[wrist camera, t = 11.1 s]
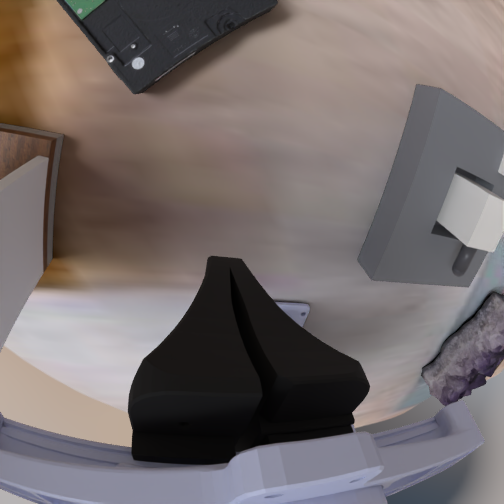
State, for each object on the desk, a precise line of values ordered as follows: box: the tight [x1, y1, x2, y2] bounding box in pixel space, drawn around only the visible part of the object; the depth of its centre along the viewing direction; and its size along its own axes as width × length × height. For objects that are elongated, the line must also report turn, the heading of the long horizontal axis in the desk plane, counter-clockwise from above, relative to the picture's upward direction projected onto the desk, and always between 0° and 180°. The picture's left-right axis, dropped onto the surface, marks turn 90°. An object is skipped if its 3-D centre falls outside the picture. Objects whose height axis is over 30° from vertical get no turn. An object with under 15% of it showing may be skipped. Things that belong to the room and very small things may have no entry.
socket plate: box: [357, 84, 504, 287], centre depth 22 cm, size 16×14×4 cm
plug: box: [436, 172, 504, 277], centre depth 22 cm, size 8×4×6 cm, turn 168°
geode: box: [421, 293, 504, 406], centre depth 34 cm, size 20×12×10 cm, turn 149°
